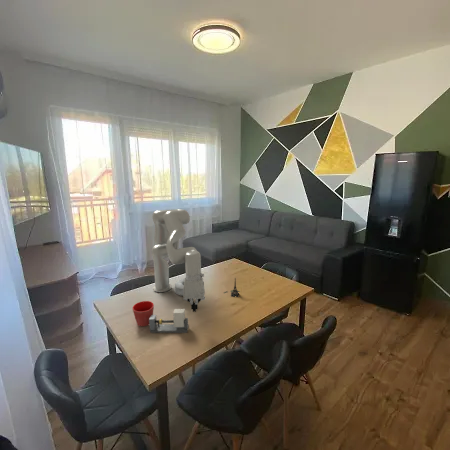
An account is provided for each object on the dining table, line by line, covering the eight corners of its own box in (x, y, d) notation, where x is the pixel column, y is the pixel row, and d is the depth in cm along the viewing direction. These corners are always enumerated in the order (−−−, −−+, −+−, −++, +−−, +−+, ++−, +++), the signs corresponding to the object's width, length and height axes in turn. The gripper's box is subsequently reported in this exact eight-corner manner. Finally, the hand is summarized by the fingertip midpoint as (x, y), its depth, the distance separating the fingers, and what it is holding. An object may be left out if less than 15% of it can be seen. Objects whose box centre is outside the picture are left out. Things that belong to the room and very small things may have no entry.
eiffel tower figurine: (249, 297, 160) (249, 278, 157) (237, 302, 154) (238, 282, 151) (233, 289, 171) (234, 271, 169) (222, 293, 165) (222, 275, 162)
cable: (202, 285, 176) (202, 277, 175) (197, 297, 159) (197, 288, 158) (178, 284, 178) (178, 276, 177) (171, 296, 161) (170, 287, 160)
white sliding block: (173, 326, 124) (173, 312, 122) (175, 322, 127) (174, 308, 126) (183, 326, 124) (183, 312, 122) (184, 322, 127) (184, 309, 126)
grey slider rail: (149, 332, 123) (148, 320, 122) (152, 326, 129) (151, 313, 127) (187, 332, 124) (186, 320, 122) (188, 326, 129) (188, 314, 128)
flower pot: (137, 331, 125) (136, 314, 123) (131, 320, 133) (130, 304, 131) (157, 323, 131) (156, 307, 129) (150, 314, 139) (149, 298, 137)
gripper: (209, 273, 124) (209, 306, 127) (179, 273, 124) (180, 306, 127) (208, 279, 116) (208, 314, 120) (176, 279, 116) (178, 314, 120)
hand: (194, 310), depth 124 cm, fingers closed
